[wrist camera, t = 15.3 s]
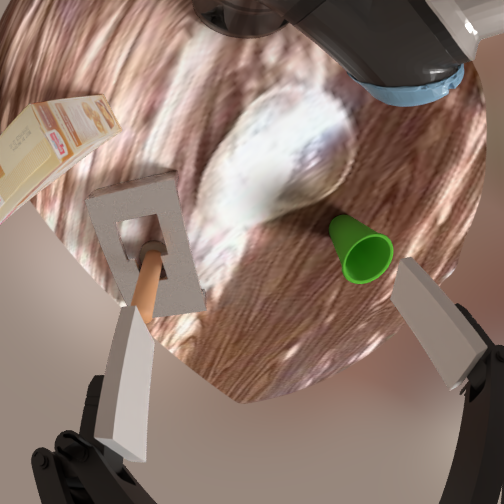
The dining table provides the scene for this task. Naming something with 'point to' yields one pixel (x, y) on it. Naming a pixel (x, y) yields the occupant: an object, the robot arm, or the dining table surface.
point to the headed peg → (148, 278)
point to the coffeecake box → (49, 145)
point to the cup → (360, 249)
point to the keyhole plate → (174, 233)
